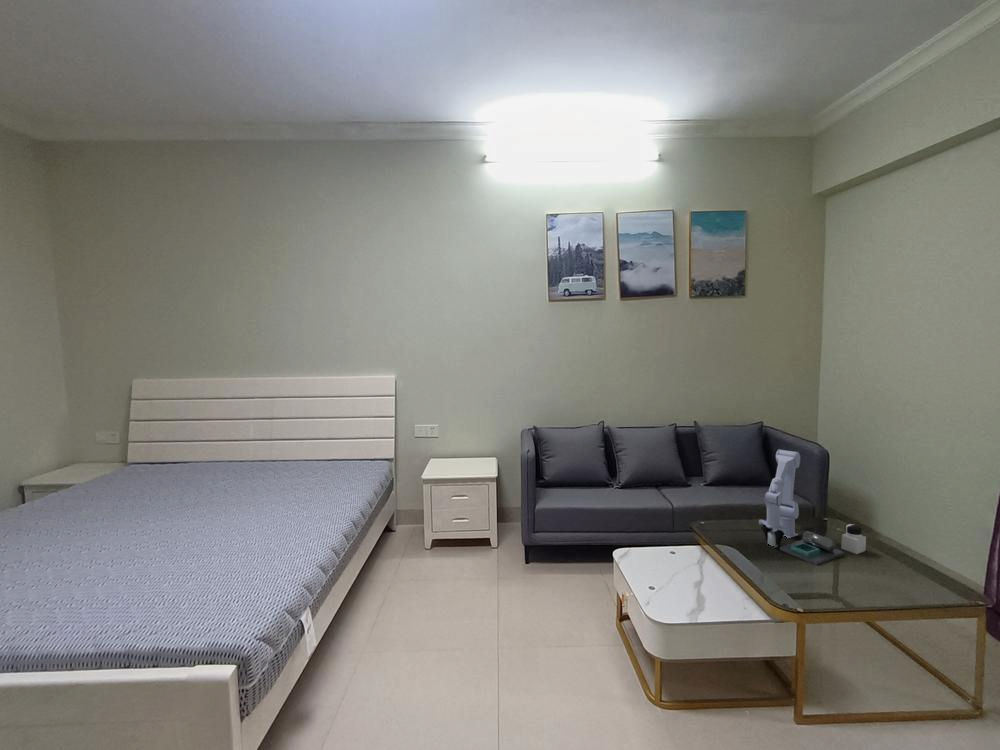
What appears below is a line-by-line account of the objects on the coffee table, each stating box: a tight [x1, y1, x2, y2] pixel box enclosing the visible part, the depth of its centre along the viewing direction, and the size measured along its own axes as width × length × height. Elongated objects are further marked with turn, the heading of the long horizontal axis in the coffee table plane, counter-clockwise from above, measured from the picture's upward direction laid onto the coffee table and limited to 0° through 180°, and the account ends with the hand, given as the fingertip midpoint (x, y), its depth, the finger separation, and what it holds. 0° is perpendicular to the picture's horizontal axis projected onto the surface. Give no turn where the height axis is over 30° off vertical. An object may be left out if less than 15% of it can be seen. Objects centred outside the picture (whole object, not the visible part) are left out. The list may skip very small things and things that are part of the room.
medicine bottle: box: [841, 523, 867, 555], centre depth 238 cm, size 7×7×12 cm
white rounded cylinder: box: [767, 530, 780, 548], centre depth 247 cm, size 5×5×6 cm
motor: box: [779, 530, 845, 566], centre depth 238 cm, size 18×20×7 cm
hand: (773, 542), depth 247 cm, fingers closed on white rounded cylinder, 5 cm apart
